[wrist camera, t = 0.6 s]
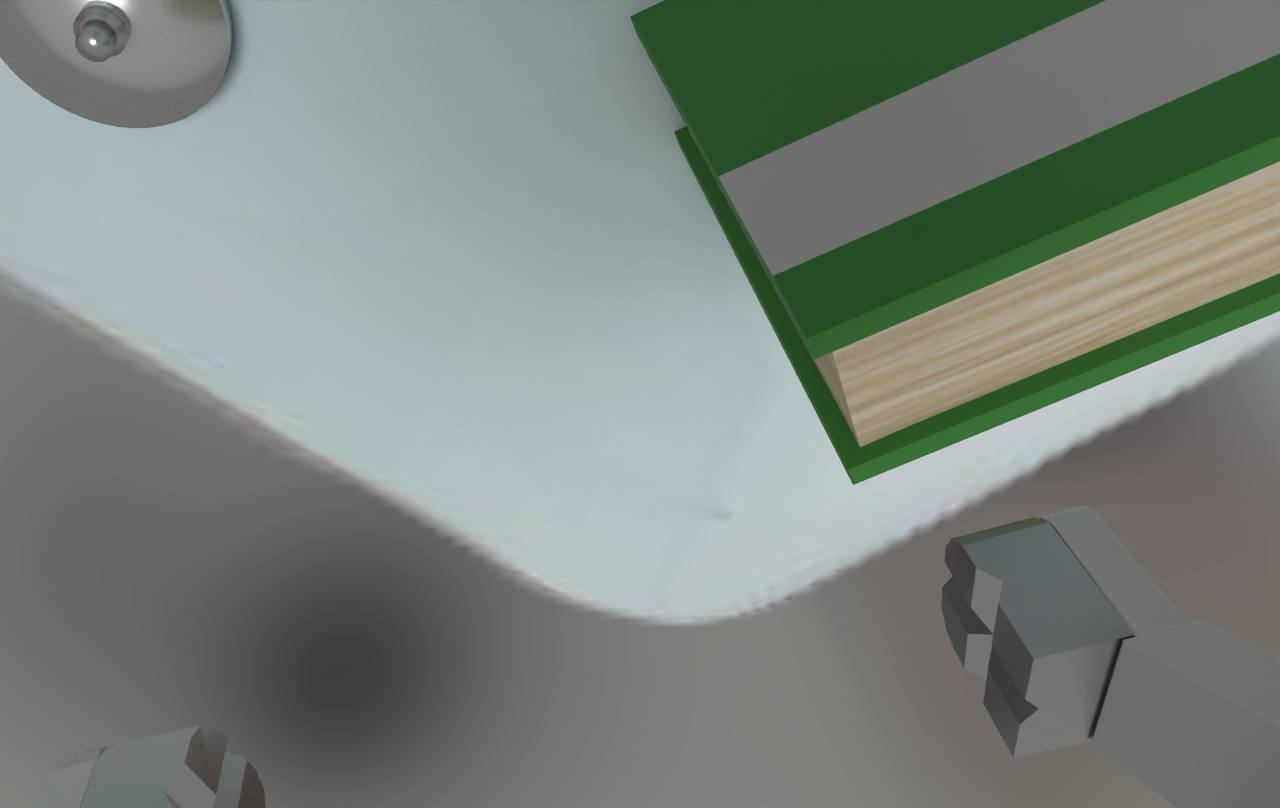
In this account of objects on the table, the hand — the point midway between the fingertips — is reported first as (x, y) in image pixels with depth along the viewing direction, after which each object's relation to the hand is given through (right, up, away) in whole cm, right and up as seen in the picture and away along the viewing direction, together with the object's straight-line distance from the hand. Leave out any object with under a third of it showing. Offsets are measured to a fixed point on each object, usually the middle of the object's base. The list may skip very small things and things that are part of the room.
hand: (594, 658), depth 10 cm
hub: (-21, +19, +27) cm, 39 cm away
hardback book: (+9, +22, +33) cm, 41 cm away
